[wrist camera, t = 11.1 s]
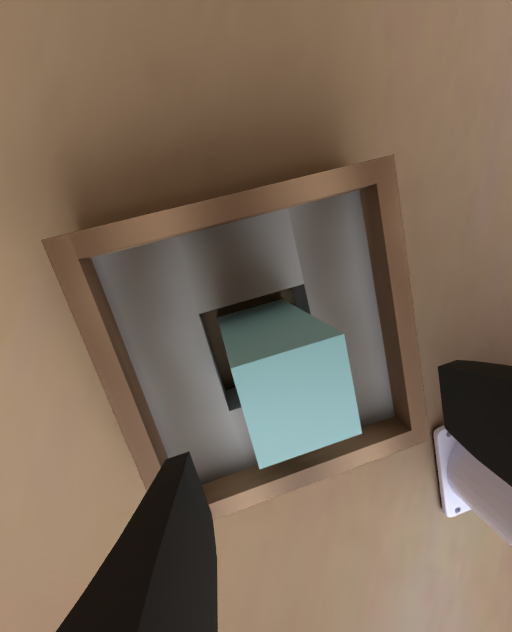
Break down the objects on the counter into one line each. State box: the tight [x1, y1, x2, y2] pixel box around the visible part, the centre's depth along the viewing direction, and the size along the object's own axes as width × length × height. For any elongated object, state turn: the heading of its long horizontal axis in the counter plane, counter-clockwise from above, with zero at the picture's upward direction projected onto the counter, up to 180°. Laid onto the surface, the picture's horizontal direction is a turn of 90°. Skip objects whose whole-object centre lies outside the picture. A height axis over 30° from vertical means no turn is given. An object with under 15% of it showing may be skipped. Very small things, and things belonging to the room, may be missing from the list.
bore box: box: [41, 155, 430, 520], centre depth 16 cm, size 15×15×4 cm
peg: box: [217, 299, 362, 469], centre depth 14 cm, size 4×4×8 cm
